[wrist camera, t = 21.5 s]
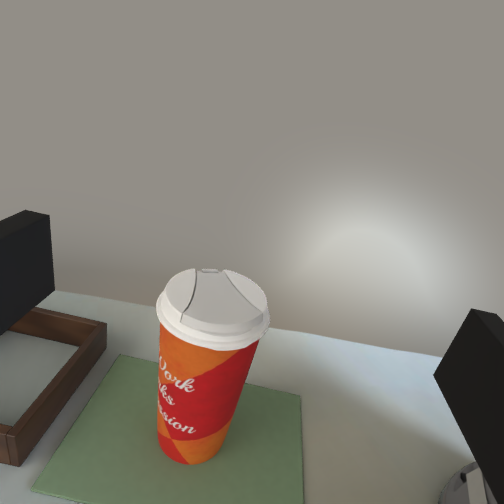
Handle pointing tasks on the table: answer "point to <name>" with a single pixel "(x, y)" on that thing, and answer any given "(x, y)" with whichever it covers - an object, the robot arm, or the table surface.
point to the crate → (63, 384)
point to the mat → (164, 468)
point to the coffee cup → (204, 358)
